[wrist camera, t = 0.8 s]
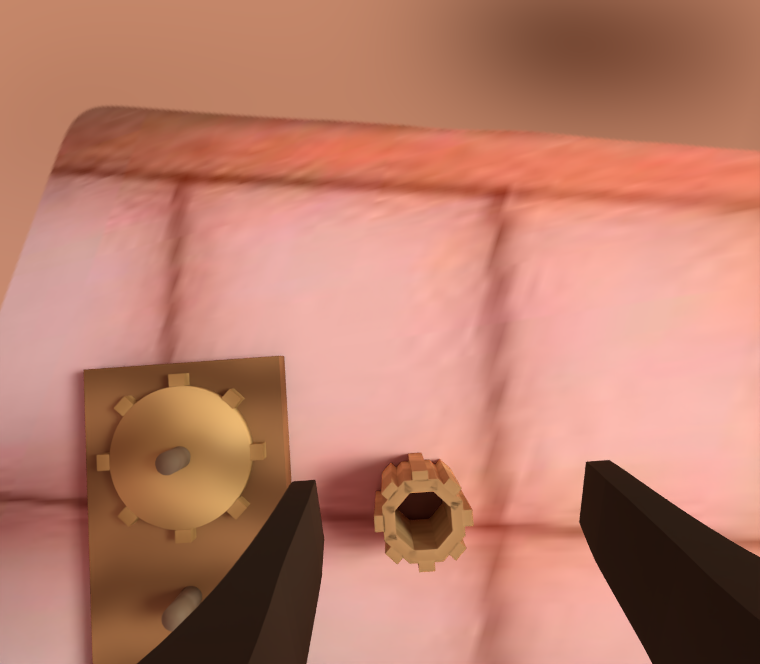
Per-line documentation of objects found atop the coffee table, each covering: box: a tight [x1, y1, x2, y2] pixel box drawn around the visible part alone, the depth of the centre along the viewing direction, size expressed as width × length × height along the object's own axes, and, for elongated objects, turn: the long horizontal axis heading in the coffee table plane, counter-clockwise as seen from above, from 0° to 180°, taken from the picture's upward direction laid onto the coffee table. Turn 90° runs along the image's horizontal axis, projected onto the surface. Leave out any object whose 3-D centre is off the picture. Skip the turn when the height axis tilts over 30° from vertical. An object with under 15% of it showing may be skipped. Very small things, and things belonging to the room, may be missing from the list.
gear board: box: [84, 356, 291, 664], centre depth 29 cm, size 30×13×4 cm, turn 4°
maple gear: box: [374, 453, 474, 572], centre depth 29 cm, size 6×6×5 cm
